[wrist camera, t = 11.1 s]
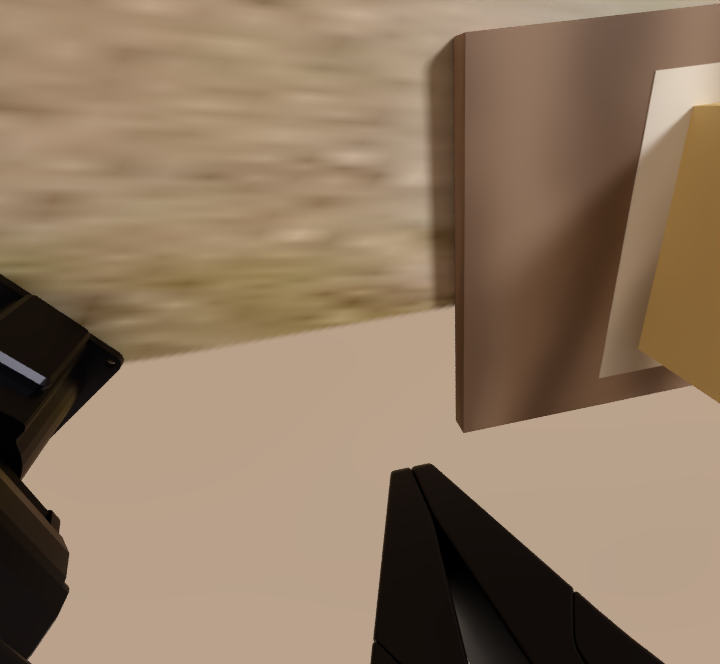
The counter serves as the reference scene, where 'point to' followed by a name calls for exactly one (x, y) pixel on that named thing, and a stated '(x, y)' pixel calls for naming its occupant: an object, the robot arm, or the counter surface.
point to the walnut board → (568, 204)
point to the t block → (690, 264)
